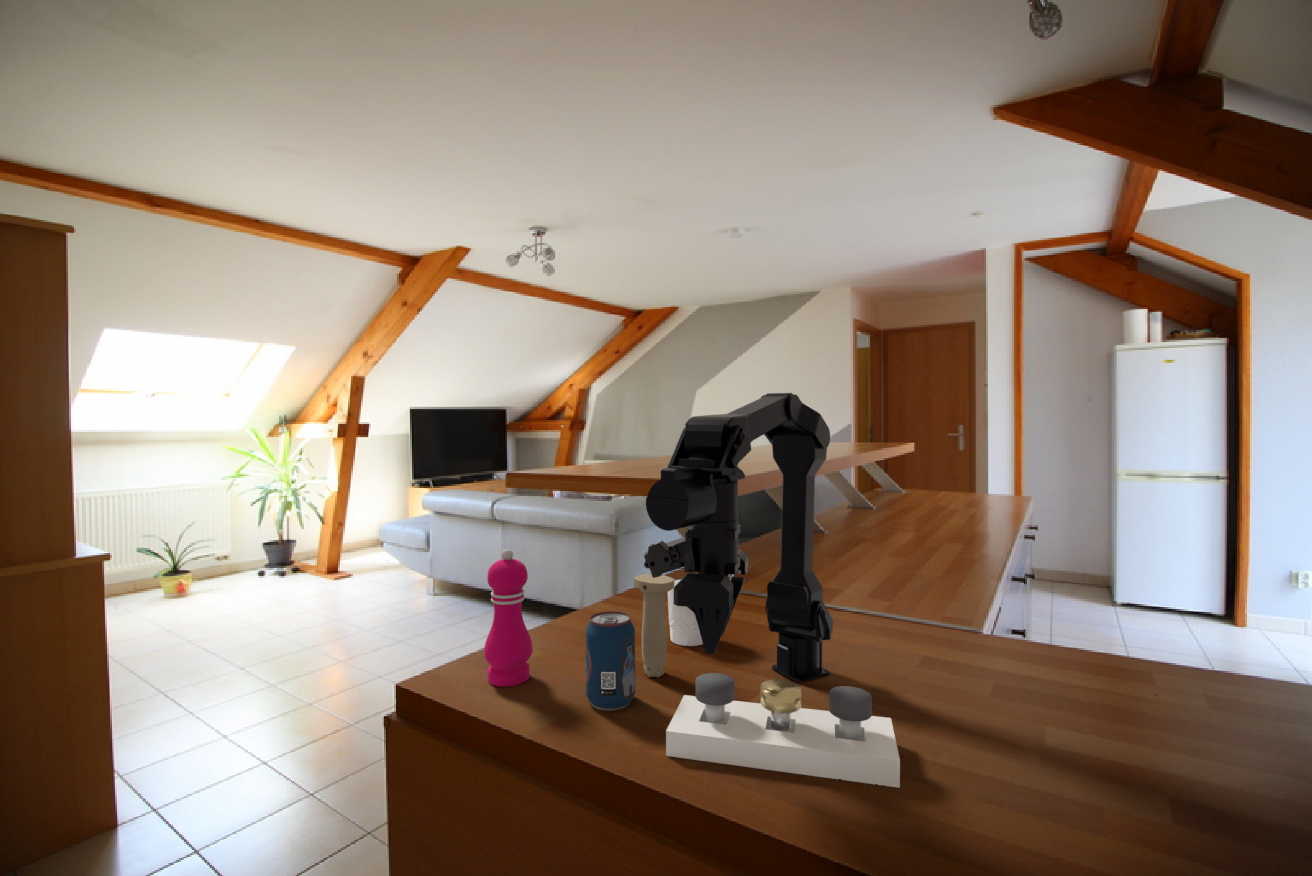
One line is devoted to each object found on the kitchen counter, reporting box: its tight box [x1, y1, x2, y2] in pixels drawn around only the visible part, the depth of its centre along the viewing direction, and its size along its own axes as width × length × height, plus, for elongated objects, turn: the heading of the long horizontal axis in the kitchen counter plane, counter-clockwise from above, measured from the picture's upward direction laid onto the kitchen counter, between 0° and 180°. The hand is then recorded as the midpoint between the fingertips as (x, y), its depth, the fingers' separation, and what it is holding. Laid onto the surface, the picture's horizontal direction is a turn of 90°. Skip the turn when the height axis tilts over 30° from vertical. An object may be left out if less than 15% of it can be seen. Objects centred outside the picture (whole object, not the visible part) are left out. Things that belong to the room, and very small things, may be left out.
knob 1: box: [695, 672, 736, 723], centre depth 79 cm, size 5×5×5 cm
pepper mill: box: [483, 548, 533, 688], centre depth 98 cm, size 7×7×20 cm
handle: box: [633, 573, 675, 678], centre depth 100 cm, size 5×6×15 cm
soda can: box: [585, 610, 636, 711], centre depth 90 cm, size 7×7×12 cm
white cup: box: [666, 579, 703, 647], centre depth 115 cm, size 8×8×10 cm
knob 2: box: [828, 685, 873, 739], centre depth 75 cm, size 5×5×5 cm
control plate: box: [665, 694, 901, 789], centre depth 77 cm, size 26×10×3 cm, turn 75°
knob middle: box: [760, 678, 802, 731], centre depth 77 cm, size 5×5×5 cm
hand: (714, 644), depth 79 cm, fingers open, 6 cm apart
